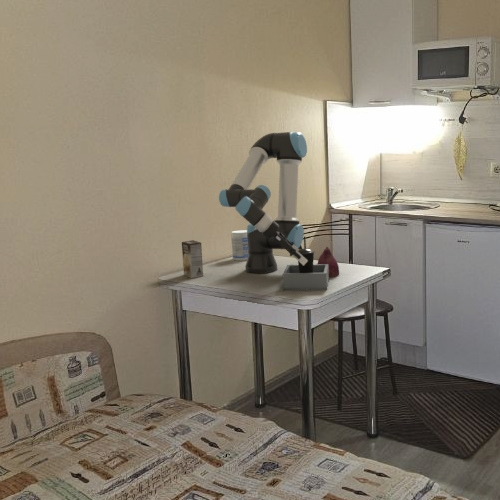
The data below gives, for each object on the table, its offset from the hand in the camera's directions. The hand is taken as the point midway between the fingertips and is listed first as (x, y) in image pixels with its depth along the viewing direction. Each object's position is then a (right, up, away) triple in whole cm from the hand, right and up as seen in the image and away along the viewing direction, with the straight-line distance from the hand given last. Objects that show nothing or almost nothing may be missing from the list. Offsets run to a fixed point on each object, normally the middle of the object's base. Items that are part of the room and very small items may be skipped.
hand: (304, 260), depth 294 cm
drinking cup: (+1, -10, +2) cm, 10 cm away
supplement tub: (-27, -1, +66) cm, 71 cm away
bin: (+1, -11, +2) cm, 11 cm away
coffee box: (-49, -8, +34) cm, 60 cm away
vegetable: (+12, -7, +19) cm, 24 cm away
